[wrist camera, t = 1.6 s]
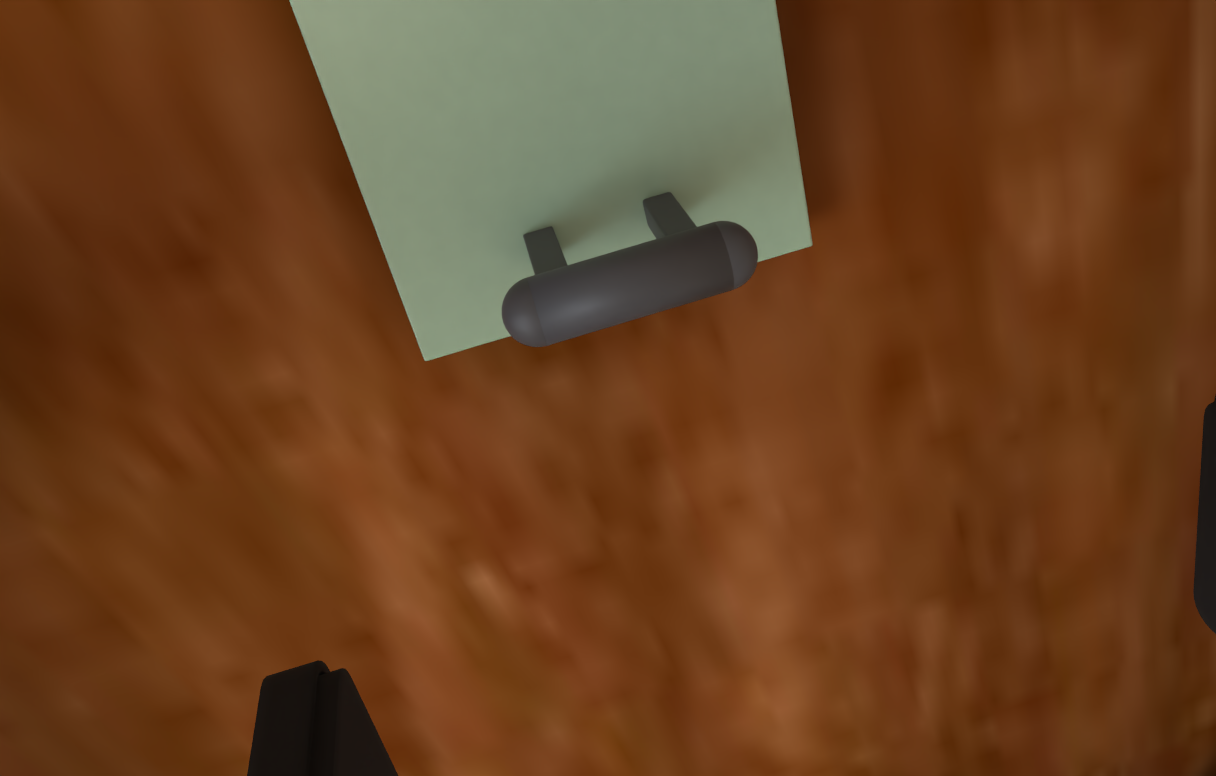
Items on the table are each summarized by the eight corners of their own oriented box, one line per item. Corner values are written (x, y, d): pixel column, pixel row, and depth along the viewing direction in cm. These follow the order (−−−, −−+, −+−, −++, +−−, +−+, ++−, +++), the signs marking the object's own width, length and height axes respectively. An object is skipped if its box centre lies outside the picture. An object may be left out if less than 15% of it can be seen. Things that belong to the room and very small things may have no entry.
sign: (232, -170, 23) (183, -172, 18) (715, -304, 23) (805, -343, 18) (423, 345, 29) (429, 454, 24) (800, 232, 30) (884, 317, 24)
